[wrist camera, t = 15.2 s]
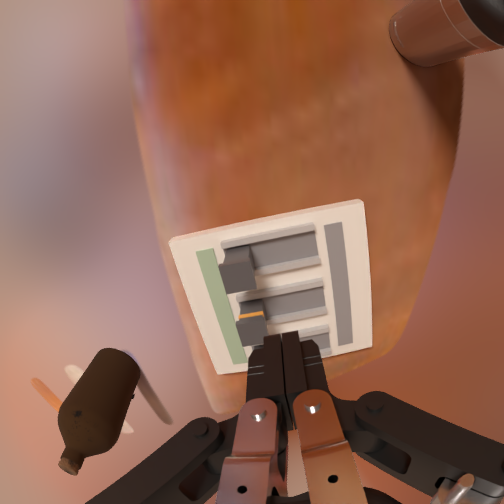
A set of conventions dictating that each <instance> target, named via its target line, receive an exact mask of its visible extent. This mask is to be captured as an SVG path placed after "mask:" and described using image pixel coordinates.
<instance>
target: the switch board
mask: <svg viewBox="0 0 504 504" xmlns="http://www.w3.org/2000/svg"><path fill="white" fill-rule="evenodd" d="M169 245H170V248H171V252H172V255H173V258H174V260H175V263H176V266H177V269H178V272H179V275H180V278H181V281H182V284H183V286H184V289H185V292H186V295H187V298H188V300H189V303H190V306H191V308H192V311H193V314H194V316H195V319H196V322H197V324H198V327H199V330H200V332H201V335H202V337H203V340H204V342H205V345H206V347H207V350H208V352H209V355H210V357H211V360H212V362H213V365H214V367H215V369H216V372H217V374H226V373H235V372H242V371H248V358H249V356H250V355H251V353H252V351H253V350H254V349H261V348H264V344H258V345H252V346H245V347H242V344H241V341H240V338H239V334H238V331H237V328H236V321H239V318H238V317H239V315H240V308H241V302H246V301H252V300H257V299H263V303H264V307H265V311H266V315H267V329H268V333H269V335H275V334H281V338H282V333H285V332H291V331H296V330H298V333H299V339H300V341H305V340H310V339H312V340H313V341H314V342H315V343H316V344H317V345H318V346H319V350H320V354H321V358H325V357H329V356H334V355H339V354H343V353H347V352H352V351H356V350H360V349H364V348H368V347H372V304H371V281H370V265H369V252H368V240H367V230H366V220H365V211H364V203H363V201H361V200H360V199H355V200H350V201H344V202H339V203H334V204H328V205H323V206H318V207H313V208H308V209H303V210H298V211H293V212H288V213H283V214H278V215H273V216H268V217H263V218H259V219H254V220H249V221H245V222H240V223H235V224H231V225H226V226H221V227H217V228H212V229H208V230H203V231H199V232H195V233H190V234H186V235H181V236H177V237H173V238H172V239H171V240H170V241H169Z"/></svg>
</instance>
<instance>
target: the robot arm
mask: <svg viewBox="0 0 504 504" xmlns="http://www.w3.org/2000/svg"><path fill="white" fill-rule="evenodd" d="M389 32H390V37H391V39H392V42H393V44H394V46H395V47H396V49H397V50H398V51H399V52H400V54H401V55H402V56H403V57H405V58H406V59H407V60H408V61H410V62H411V63H413V64H416V65H418V66H422V67H430V66H434V65H438V64H441V63H445V62H449V61H452V60H456V59H460V58H464V57H467V56H472V55H476V54H480V53H484V52H489V51H493V50H497V49H502V48H504V0H413V1H412V2H410V3H409V4H408V5H406V6H405V7H404V8H402V9H401V10H400V11H398V12H397V13H396V14H395V15H394V16H393V17H392V19H391V20H390V24H389ZM263 342H264V348H261V349H254V350H253V351H252V353H251V355H250V356H249V358H248V373H247V374H248V376H247V390H246V403H245V404H244V405H243V406H242V407H241V409H240V411H239V414H238V415H236V416H235V417H233V418H231V419H228V420H225V421H222V422H219V423H217V422H216V421H215V420H214V419H211V418H208V417H201V418H197V419H195V420H192V421H191V422H189V423H188V424H187V425H186V426H185V427H184V428H182V429H181V430H180V431H179V432H178V433H177V434H175V435H174V436H173V437H172V438H170V439H169V440H168V441H167V442H166V443H164V444H163V445H162V446H161V447H160V448H158V449H157V450H156V451H155V452H153V453H152V454H151V455H150V456H148V457H147V458H146V459H145V460H143V461H142V462H141V463H140V464H138V465H137V466H136V467H134V468H133V469H132V470H130V471H129V472H128V473H127V474H125V475H124V476H123V477H121V478H120V479H119V480H117V481H116V482H115V483H113V484H112V485H110V486H109V487H108V488H107V489H105V490H103V491H102V492H101V493H99V494H98V495H96V496H95V497H94V498H92V499H91V500H89V501H88V502H86V503H85V504H204V503H205V502H206V501H207V500H208V499H209V498H211V497H212V496H213V495H214V494H215V493H216V492H217V491H218V492H217V498H216V502H215V504H402V503H400V502H398V501H397V500H395V499H394V498H392V497H391V496H389V495H387V494H386V493H383V492H381V491H379V490H376V489H372V488H367V487H363V486H362V483H361V479H360V476H359V473H358V470H357V467H356V463H355V460H354V457H353V454H352V452H356V454H357V455H358V456H360V457H361V458H363V459H364V460H366V461H368V462H369V463H371V464H373V465H374V466H376V467H378V468H379V469H381V470H383V471H385V472H386V473H388V474H390V475H392V476H393V477H395V478H397V479H399V480H401V481H402V482H404V483H406V484H408V485H410V486H412V487H414V488H415V489H417V490H419V491H421V492H423V493H425V494H427V495H429V496H431V497H432V499H431V503H430V504H500V503H501V501H502V499H503V497H504V444H502V443H499V442H496V441H494V440H491V439H489V438H486V437H484V436H481V435H479V434H476V433H474V432H472V431H469V430H467V429H464V428H462V427H460V426H457V425H455V424H452V423H450V422H448V421H446V420H443V419H441V418H439V417H436V416H434V415H432V414H430V413H427V412H425V411H423V410H421V409H419V408H417V407H414V406H412V405H410V404H408V403H406V402H404V401H401V400H399V399H397V398H395V397H393V396H391V395H389V394H387V393H385V392H380V391H373V392H369V393H366V394H364V395H362V396H361V397H360V398H359V399H358V400H357V401H349V400H341V399H338V398H336V397H335V396H333V395H332V394H331V393H330V391H329V389H328V385H327V380H326V376H325V371H324V367H323V363H322V358H321V354H320V350H319V346H318V345H317V344H316V343H315V342H314V341H313V340H312V339H310V340H305V341H300V339H299V333H298V330H296V331H291V332H285V333H282V338H281V334H275V335H269V336H264V338H263ZM293 423H294V426H295V429H297V430H298V435H299V441H300V446H301V453H302V459H303V464H304V469H305V475H306V479H307V485H308V490H309V491H308V492H305V493H303V494H300V495H297V496H294V497H288V491H287V470H288V431H290V430H293Z"/></svg>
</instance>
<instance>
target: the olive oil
mask: <svg viewBox="0 0 504 504" xmlns="http://www.w3.org/2000/svg"><path fill="white" fill-rule="evenodd" d="M139 377H140V370H139V368H138V366H137V364H136V363H135V361H134V360H133V359H132V358H131V357H130V356H128V355H127V354H125V353H124V352H122V351H120V350H117V349H113V348H104V349H102V350H100V351H99V352H98V353H97V354H96V356H95V357H94V359H93V360H92V362H91V363H90V365H89V366H88V368H87V369H86V371H85V372H84V373H83V375H82V376H81V378H80V379H79V380H78V382H77V383H76V385H75V386H74V388H73V389H72V391H71V392H70V394H69V395H68V396H67V398H66V399H65V401H64V402H63V403H62V405H61V407H60V410H59V414H58V425H59V429H60V432H61V435H62V437H63V440H64V443H65V445H66V448H65V450H64V451H63V453H62V456H61V461H60V462H59V464H58V465H59V467H60V468H61V469H62V470H64V471H65V472H67V473H69V474H71V475H77V474H78V470H79V469H81V467H82V464H83V461H84V458H86V457H89V456H93V455H98V454H102V453H105V452H107V451H109V450H110V449H111V448H112V447H113V446H114V445H115V443H116V442H117V440H118V438H119V435H120V432H121V429H122V426H123V423H124V419H125V416H126V413H127V410H128V407H129V405H130V401H131V399H133V398H134V395H133V393H134V390H135V388H136V385H137V383H138V380H139Z"/></svg>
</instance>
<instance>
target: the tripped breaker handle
mask: <svg viewBox="0 0 504 504" xmlns="http://www.w3.org/2000/svg"><path fill="white" fill-rule="evenodd" d="M238 318H239V321H236V328H237V331H238V334H239V338H240V341H241V344H242V347H245V346H252V345H258V344H264V342H263V338H264V336H269V333H268V329H267V315H266V311H265V307H264V303H263V299H257V300H252V301H246V302H241V308H240V315H239V317H238Z"/></svg>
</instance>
